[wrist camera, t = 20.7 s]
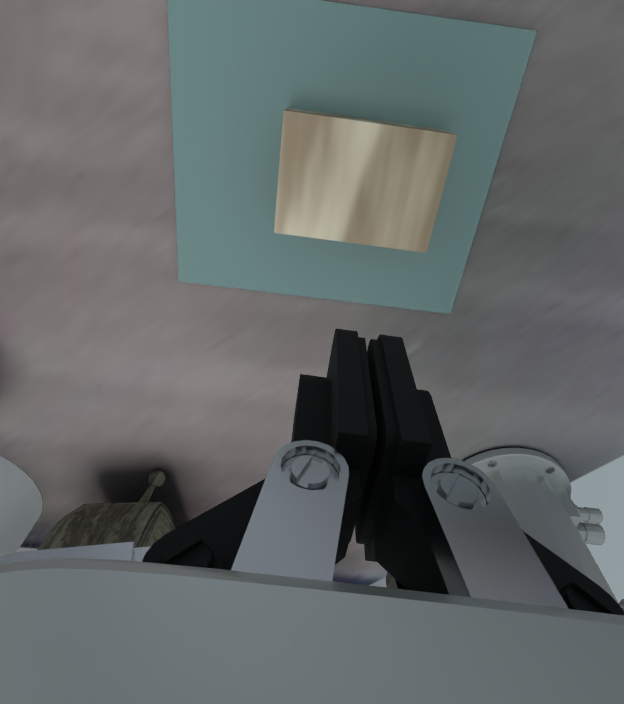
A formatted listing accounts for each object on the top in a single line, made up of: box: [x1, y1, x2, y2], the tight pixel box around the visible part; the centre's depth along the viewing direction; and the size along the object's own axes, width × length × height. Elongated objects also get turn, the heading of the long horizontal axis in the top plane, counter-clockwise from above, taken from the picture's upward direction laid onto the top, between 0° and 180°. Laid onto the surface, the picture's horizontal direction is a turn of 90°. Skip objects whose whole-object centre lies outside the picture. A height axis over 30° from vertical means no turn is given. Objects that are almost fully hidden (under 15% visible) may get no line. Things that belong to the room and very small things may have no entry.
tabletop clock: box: [38, 470, 176, 550], centre depth 38 cm, size 14×9×25 cm, turn 4°
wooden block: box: [274, 108, 457, 253], centre depth 29 cm, size 3×7×10 cm
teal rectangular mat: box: [167, 0, 537, 314], centre depth 30 cm, size 21×18×1 cm
